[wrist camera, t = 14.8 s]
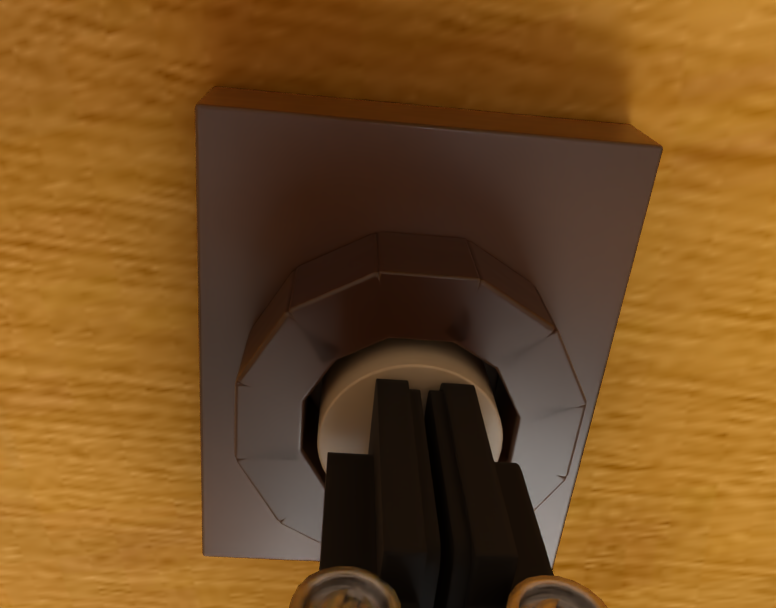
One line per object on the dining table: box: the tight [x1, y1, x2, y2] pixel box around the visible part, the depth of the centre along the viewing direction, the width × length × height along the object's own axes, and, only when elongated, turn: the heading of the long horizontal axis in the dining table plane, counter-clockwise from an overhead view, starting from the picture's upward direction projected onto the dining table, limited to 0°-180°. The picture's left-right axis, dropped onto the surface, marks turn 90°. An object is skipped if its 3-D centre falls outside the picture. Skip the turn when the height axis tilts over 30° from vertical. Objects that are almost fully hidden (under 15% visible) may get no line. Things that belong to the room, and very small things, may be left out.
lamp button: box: [317, 338, 503, 473], centre depth 13 cm, size 3×3×2 cm
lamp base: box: [195, 86, 663, 569], centre depth 15 cm, size 10×8×4 cm
